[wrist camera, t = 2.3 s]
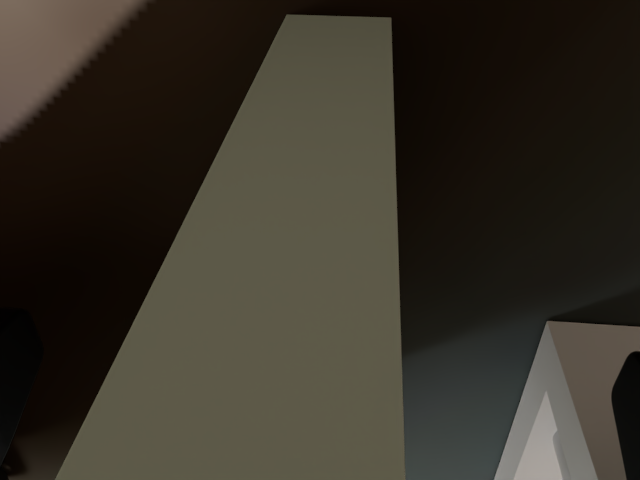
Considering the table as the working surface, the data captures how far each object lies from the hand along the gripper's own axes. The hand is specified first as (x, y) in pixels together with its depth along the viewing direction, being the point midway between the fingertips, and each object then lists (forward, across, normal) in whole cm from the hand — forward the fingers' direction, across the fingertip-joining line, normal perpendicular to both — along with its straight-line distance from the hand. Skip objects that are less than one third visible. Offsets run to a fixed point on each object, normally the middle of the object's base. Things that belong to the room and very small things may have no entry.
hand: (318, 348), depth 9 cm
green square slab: (+3, 0, 0) cm, 3 cm away
